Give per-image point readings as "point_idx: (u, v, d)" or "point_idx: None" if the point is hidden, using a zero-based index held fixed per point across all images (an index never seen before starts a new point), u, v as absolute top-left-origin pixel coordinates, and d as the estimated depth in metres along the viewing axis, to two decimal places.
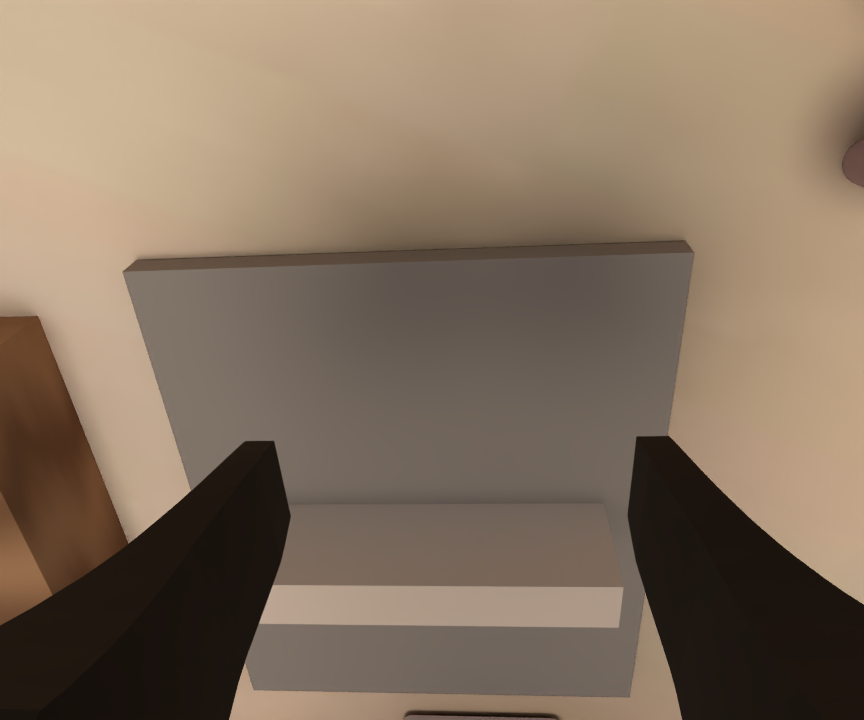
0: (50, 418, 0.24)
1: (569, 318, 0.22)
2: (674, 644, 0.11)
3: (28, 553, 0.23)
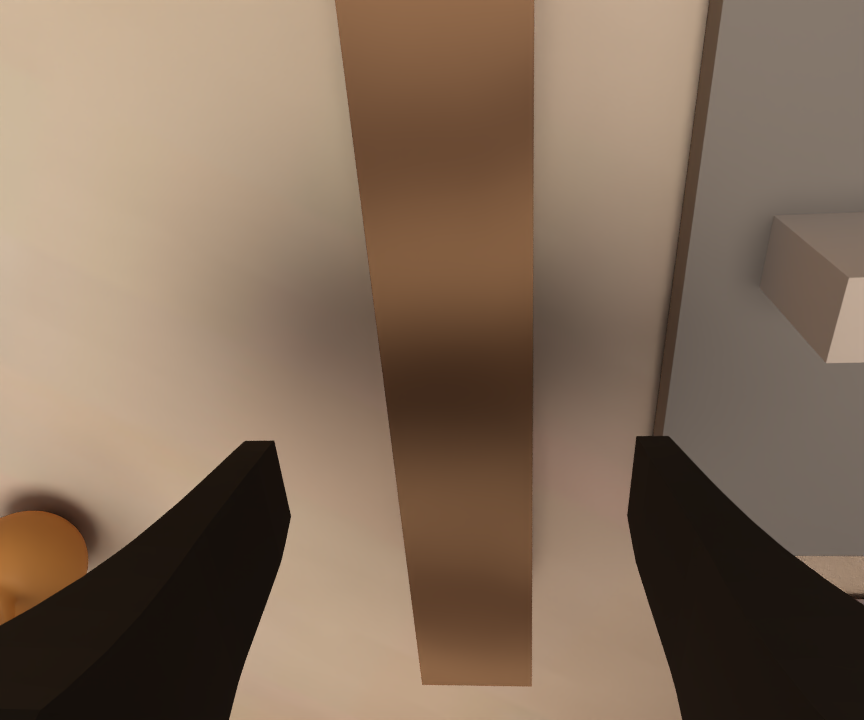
0: None
1: None
2: (674, 644, 0.11)
3: (526, 230, 0.14)
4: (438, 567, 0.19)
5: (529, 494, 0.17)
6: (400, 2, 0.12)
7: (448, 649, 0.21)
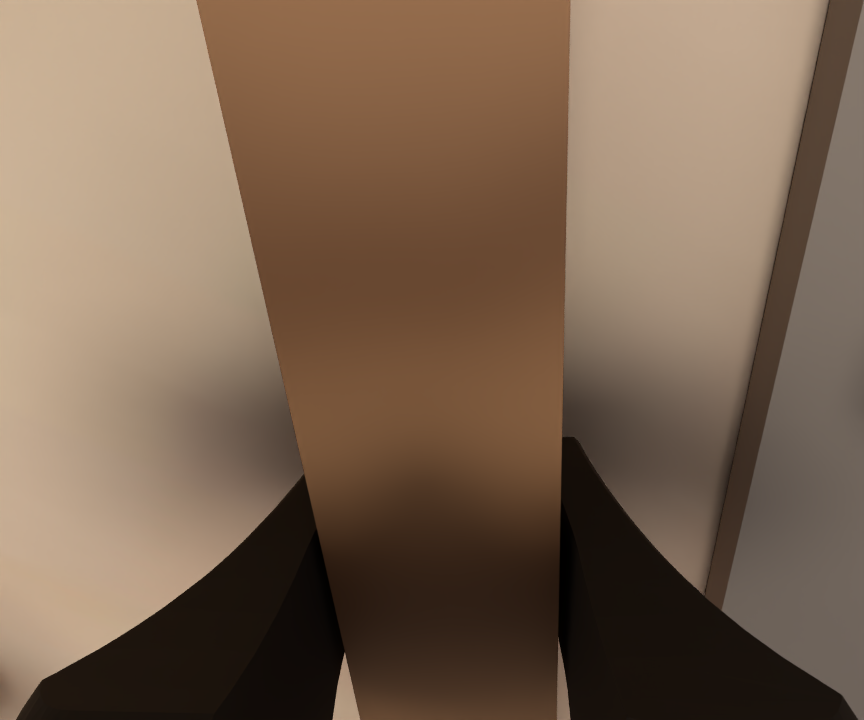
0: None
1: None
2: (565, 643, 0.11)
3: (552, 394, 0.08)
4: None
5: None
6: (320, 25, 0.06)
7: None
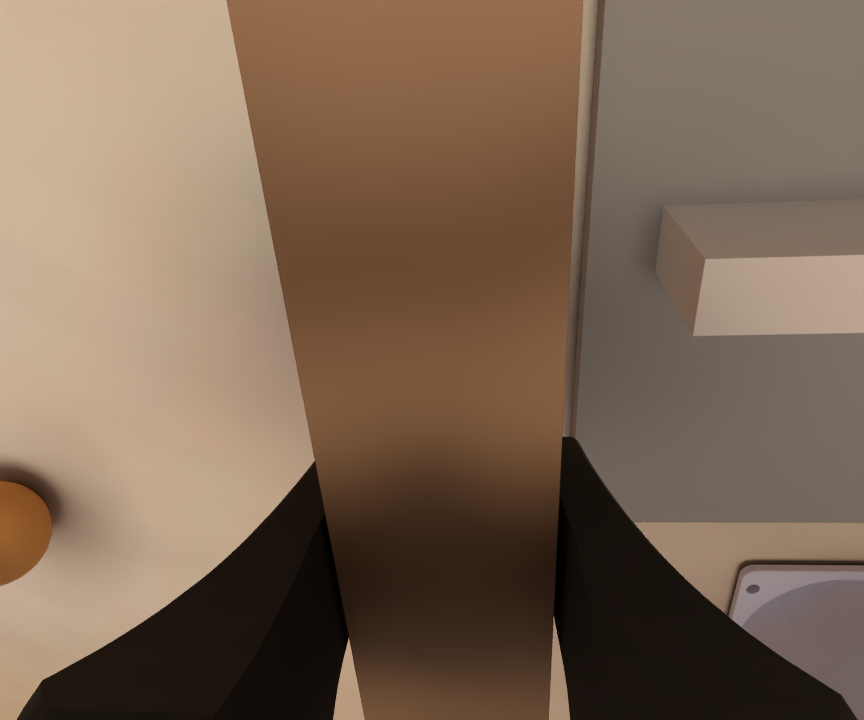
0: None
1: None
2: (565, 643, 0.11)
3: (555, 378, 0.09)
4: None
5: (545, 705, 0.12)
6: (344, 17, 0.07)
7: None
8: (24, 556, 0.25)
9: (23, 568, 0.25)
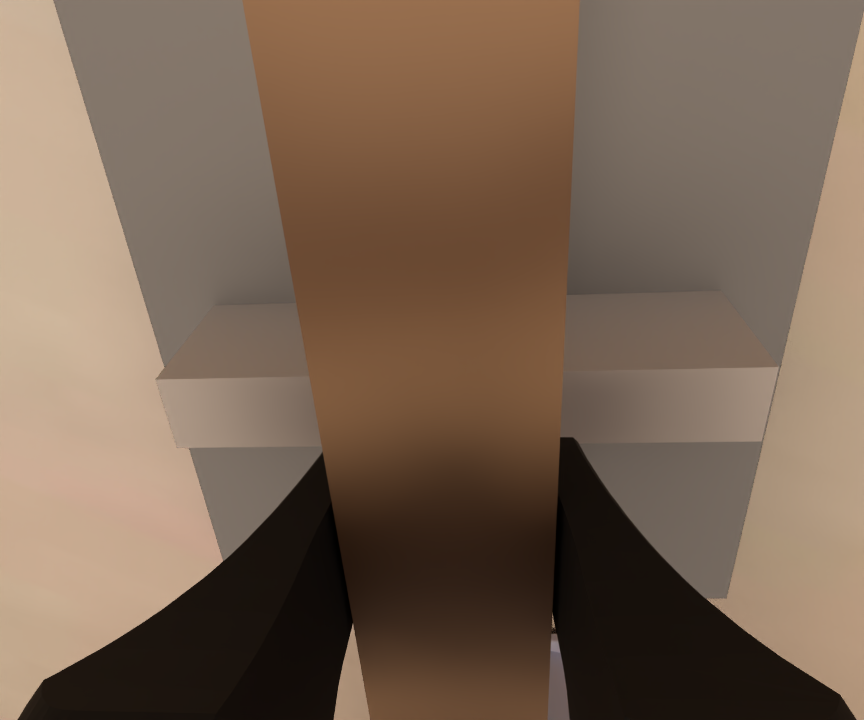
0: None
1: None
2: (564, 642, 0.11)
3: (553, 366, 0.09)
4: None
5: (545, 691, 0.13)
6: (354, 19, 0.07)
7: None
8: None
9: None
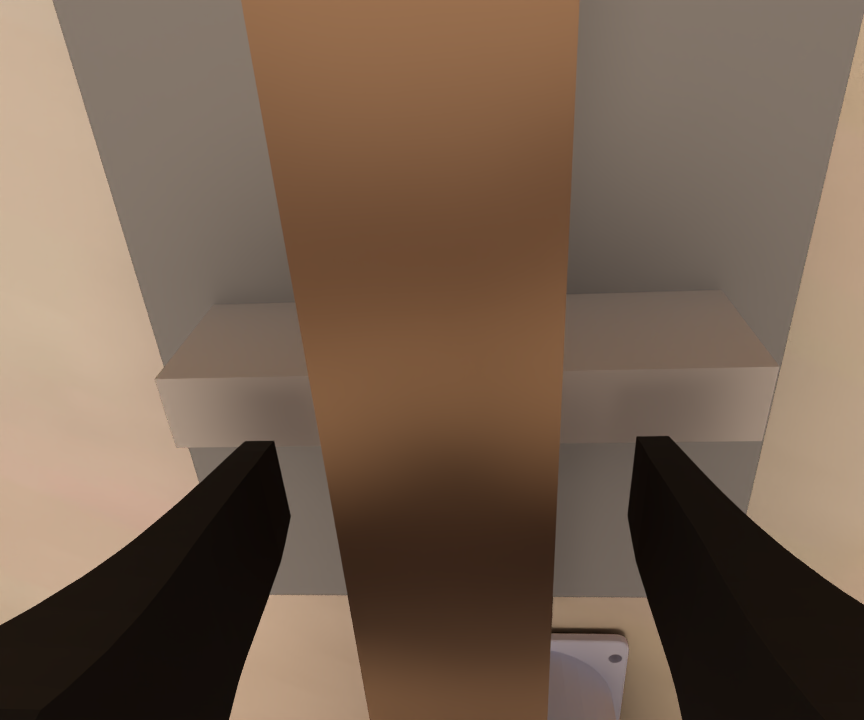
0: None
1: None
2: (674, 644, 0.11)
3: (553, 365, 0.09)
4: None
5: (544, 691, 0.13)
6: (352, 18, 0.07)
7: None
8: None
9: None
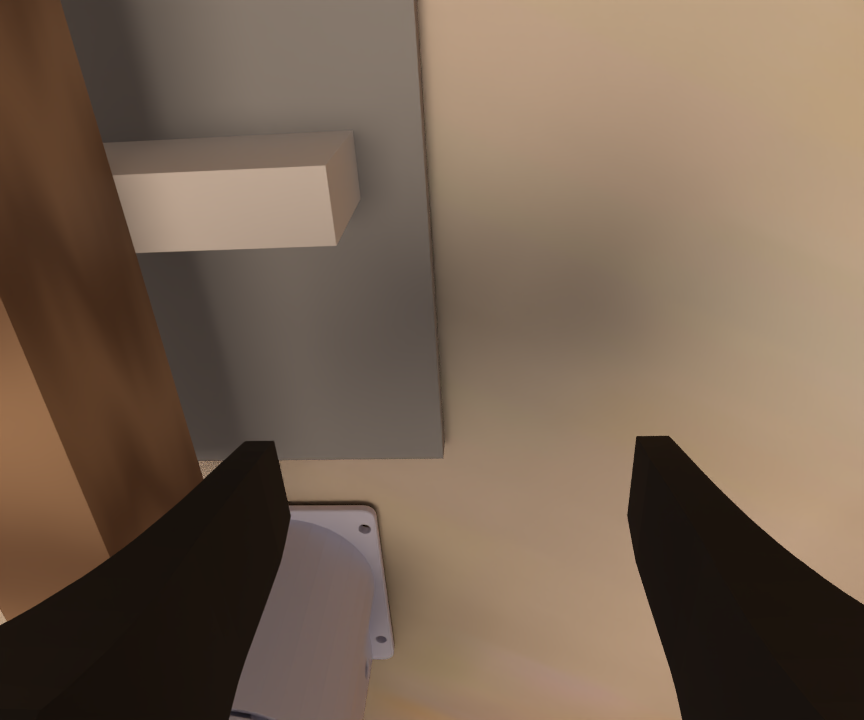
0: None
1: None
2: (674, 644, 0.11)
3: None
4: None
5: (53, 431, 0.14)
6: None
7: None
8: None
9: None
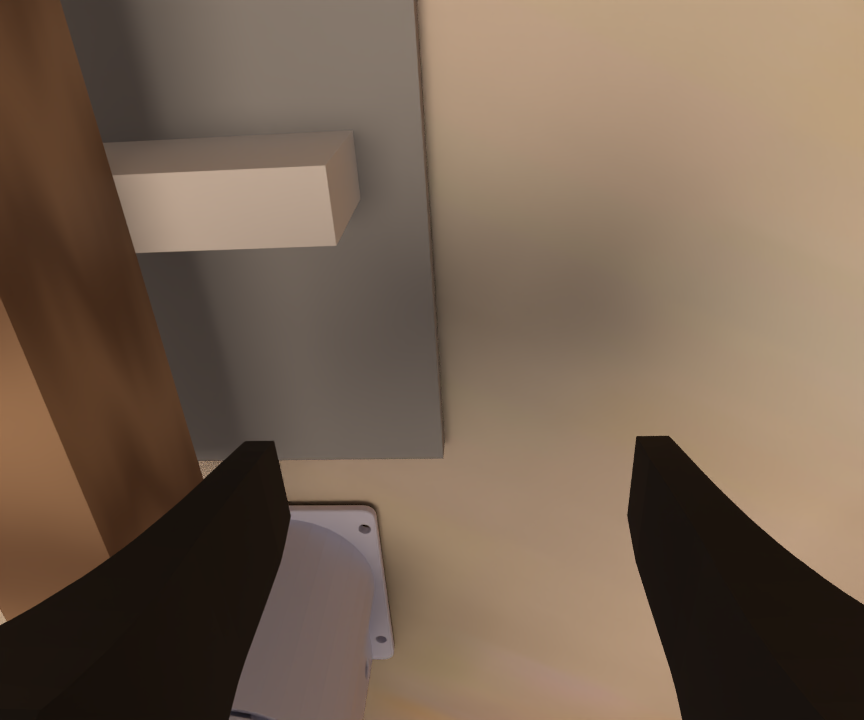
0: None
1: None
2: (674, 644, 0.11)
3: None
4: None
5: (53, 431, 0.14)
6: None
7: None
8: None
9: None
